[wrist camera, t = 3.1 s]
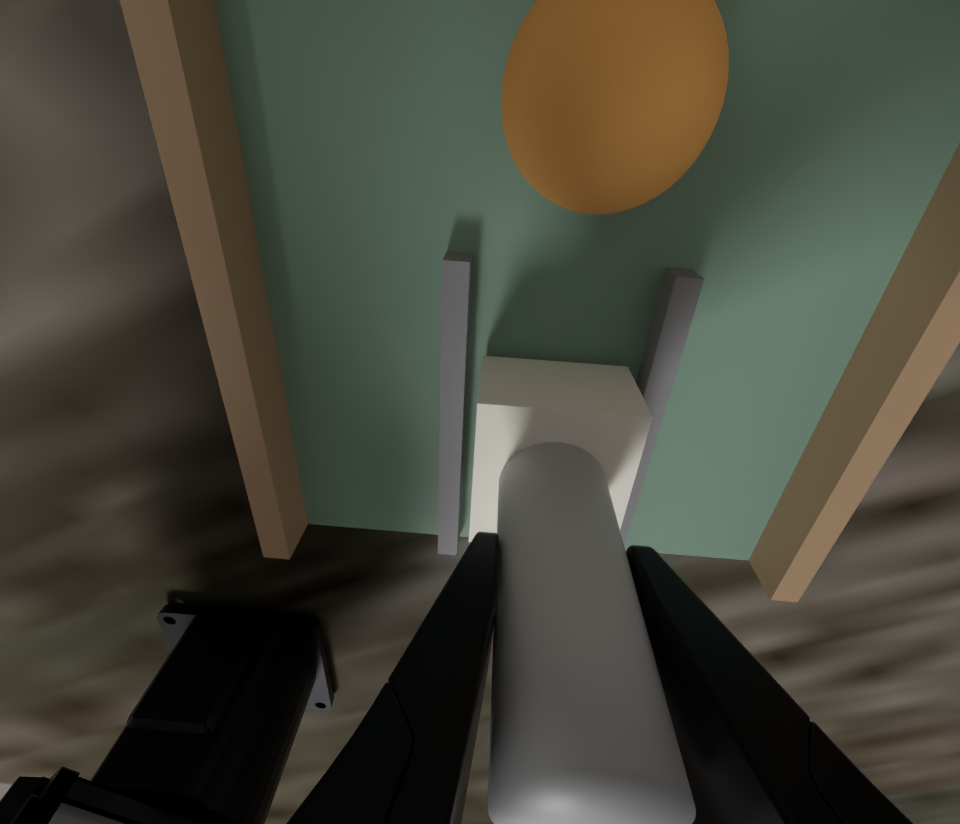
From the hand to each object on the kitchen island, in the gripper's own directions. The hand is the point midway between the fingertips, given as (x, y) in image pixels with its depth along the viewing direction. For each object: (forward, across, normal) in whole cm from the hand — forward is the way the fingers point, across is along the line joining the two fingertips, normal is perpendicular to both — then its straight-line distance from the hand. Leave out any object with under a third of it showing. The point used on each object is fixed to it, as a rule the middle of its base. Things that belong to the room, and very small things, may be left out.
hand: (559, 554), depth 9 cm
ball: (+3, 0, -7) cm, 8 cm away
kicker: (+5, 0, 0) cm, 5 cm away
